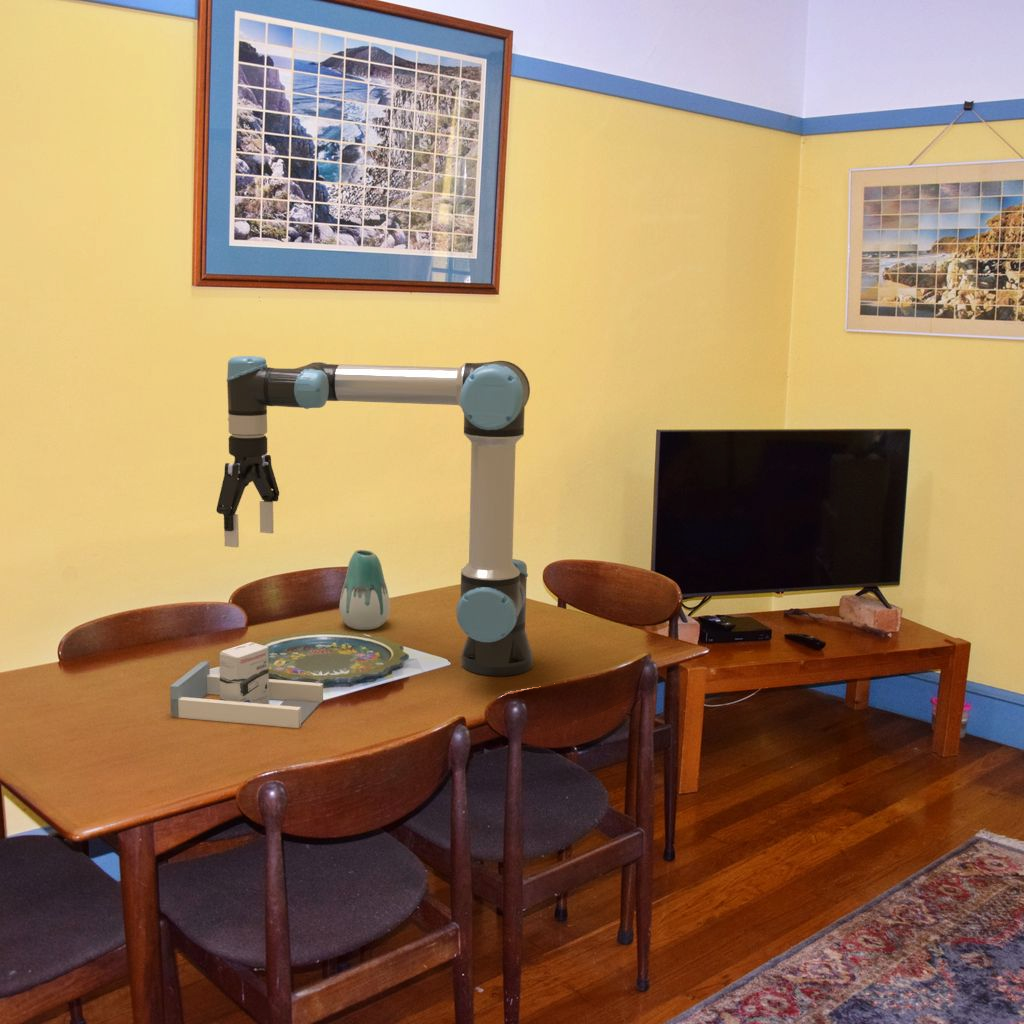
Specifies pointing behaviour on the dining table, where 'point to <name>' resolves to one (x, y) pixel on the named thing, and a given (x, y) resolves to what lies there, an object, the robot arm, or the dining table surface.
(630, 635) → the dining table surface
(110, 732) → the dining table surface
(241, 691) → the ink box
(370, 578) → the vase
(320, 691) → the bay
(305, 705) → the mat
